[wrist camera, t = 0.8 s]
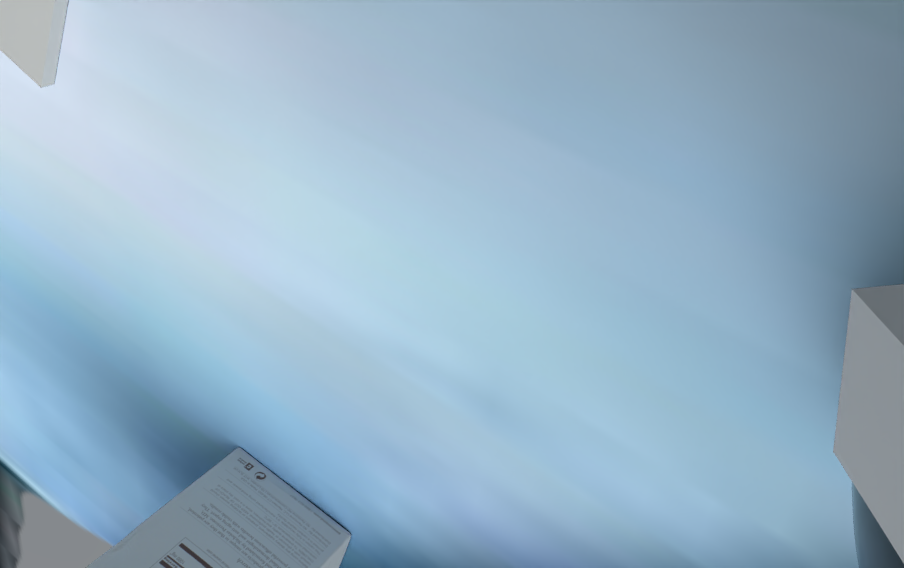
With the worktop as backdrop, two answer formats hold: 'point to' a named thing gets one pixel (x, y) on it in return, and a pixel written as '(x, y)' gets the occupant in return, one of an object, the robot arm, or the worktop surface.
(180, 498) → the supplement box
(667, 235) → the worktop surface
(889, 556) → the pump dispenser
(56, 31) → the ceramic tile
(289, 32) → the worktop surface
